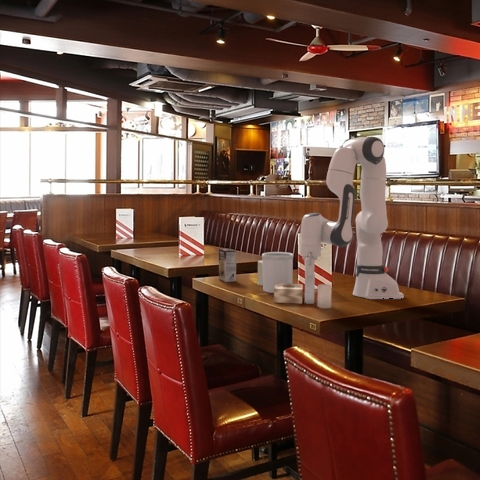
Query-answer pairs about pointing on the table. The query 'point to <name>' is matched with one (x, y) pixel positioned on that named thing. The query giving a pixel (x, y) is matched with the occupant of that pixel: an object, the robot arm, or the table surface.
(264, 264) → the utensil holder
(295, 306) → the table surface
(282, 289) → the socket block
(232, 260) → the coffee box
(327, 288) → the white rounded block
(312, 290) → the square bar
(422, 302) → the table surface
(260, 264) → the can
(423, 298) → the table surface
